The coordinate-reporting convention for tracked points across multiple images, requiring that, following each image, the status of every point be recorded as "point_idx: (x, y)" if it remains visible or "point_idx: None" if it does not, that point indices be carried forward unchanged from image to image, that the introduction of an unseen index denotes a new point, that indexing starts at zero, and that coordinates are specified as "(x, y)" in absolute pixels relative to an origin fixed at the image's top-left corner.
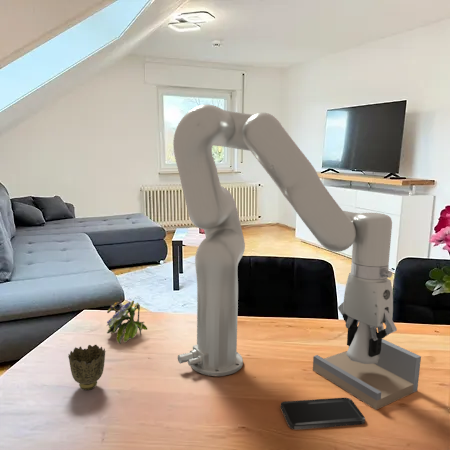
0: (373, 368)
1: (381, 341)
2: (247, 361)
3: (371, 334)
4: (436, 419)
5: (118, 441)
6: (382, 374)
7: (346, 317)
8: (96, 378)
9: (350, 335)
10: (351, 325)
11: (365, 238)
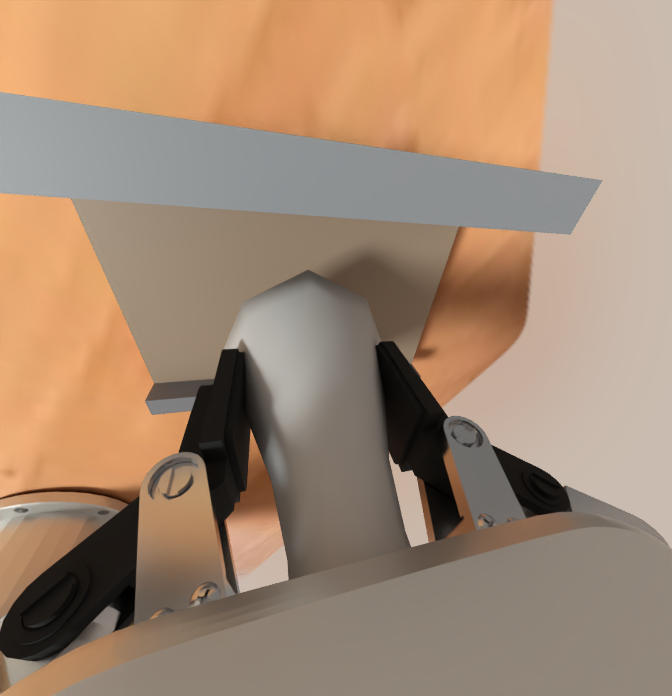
0: (302, 241)
1: (444, 414)
2: (63, 479)
3: (388, 454)
4: (512, 276)
5: (251, 568)
6: (353, 253)
7: (132, 610)
8: (133, 621)
9: (248, 458)
10: (223, 521)
11: None
